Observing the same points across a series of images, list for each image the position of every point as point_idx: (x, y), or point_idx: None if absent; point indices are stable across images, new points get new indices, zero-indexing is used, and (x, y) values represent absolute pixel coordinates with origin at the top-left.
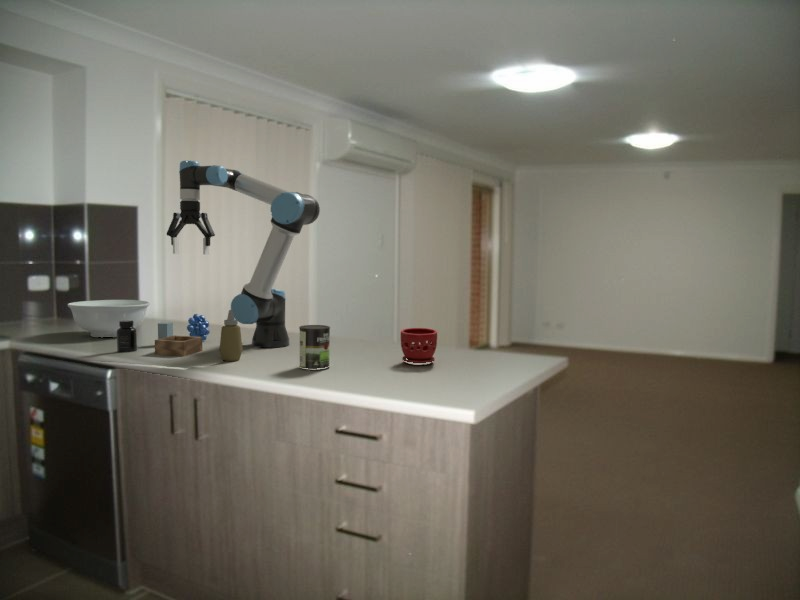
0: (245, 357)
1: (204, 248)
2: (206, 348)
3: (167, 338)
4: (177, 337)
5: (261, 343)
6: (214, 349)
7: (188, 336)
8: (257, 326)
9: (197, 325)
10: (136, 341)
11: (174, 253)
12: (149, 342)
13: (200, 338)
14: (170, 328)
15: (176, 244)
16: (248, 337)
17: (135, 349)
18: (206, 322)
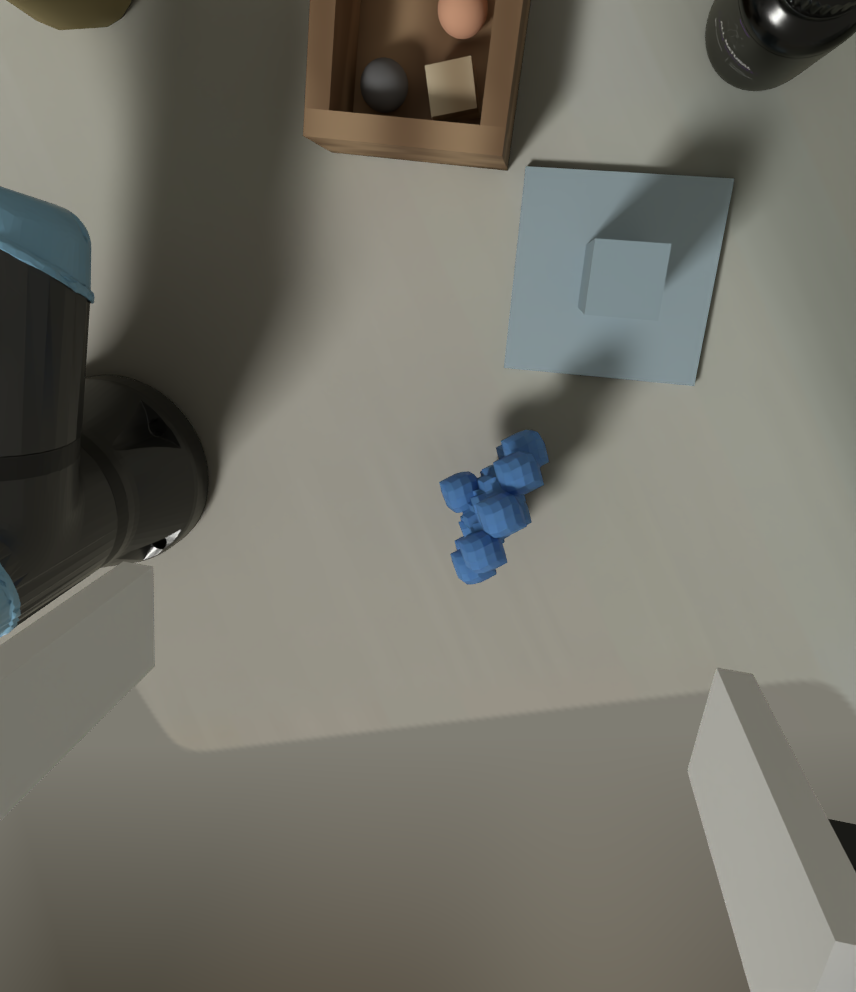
0: (67, 78)
1: (66, 607)
2: (374, 295)
3: (492, 25)
4: (465, 124)
5: (111, 379)
6: (320, 275)
7: (394, 135)
8: (103, 443)
9: (486, 475)
10: (720, 27)
11: (721, 669)
12: (779, 418)
13: (305, 112)
14: (586, 282)
15: (746, 848)
16: (319, 660)
17: (708, 22)
18: (461, 555)
